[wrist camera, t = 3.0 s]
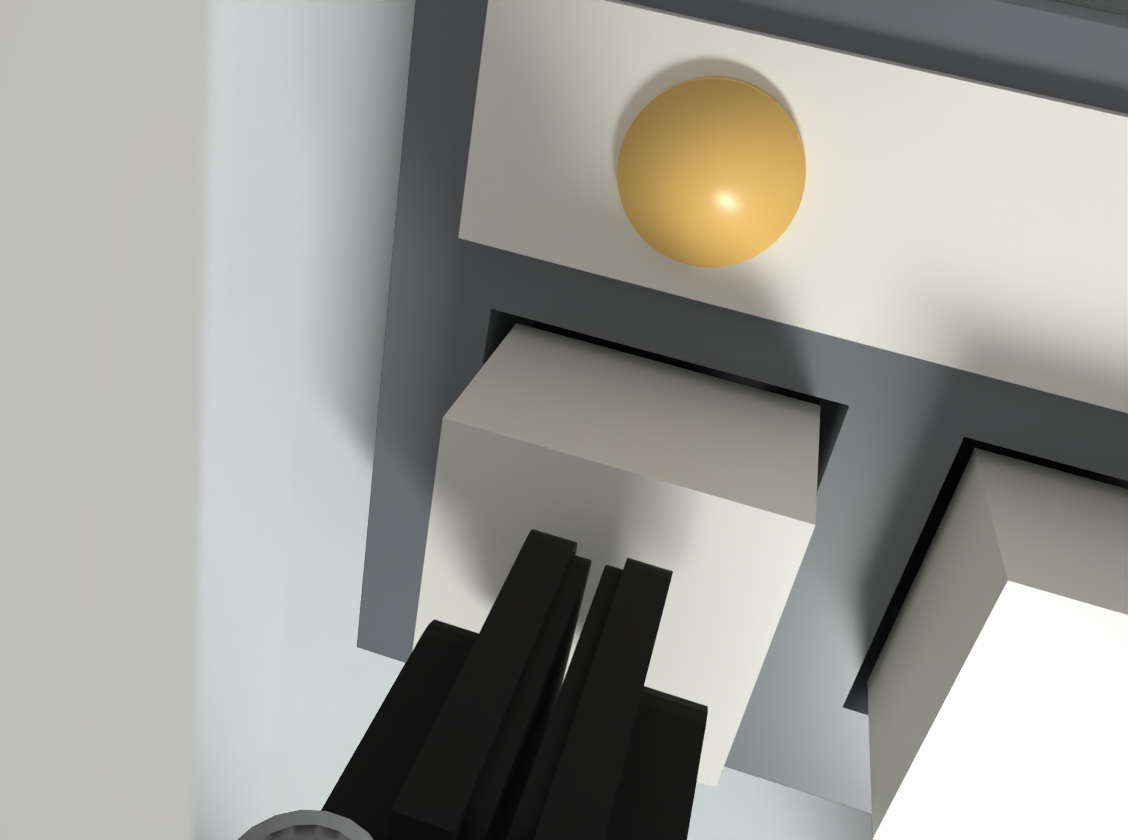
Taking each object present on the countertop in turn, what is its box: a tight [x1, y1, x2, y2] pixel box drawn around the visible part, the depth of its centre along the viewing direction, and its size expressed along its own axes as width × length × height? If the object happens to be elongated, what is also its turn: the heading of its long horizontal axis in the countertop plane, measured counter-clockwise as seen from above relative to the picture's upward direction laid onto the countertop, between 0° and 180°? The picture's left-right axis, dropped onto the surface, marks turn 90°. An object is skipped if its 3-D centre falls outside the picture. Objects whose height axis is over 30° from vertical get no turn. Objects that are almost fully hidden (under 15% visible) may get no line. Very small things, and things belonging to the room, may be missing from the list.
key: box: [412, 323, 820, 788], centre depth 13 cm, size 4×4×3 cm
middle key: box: [867, 448, 1128, 840], centre depth 13 cm, size 4×4×3 cm
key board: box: [357, 0, 1128, 814], centre depth 14 cm, size 12×21×4 cm, turn 80°
